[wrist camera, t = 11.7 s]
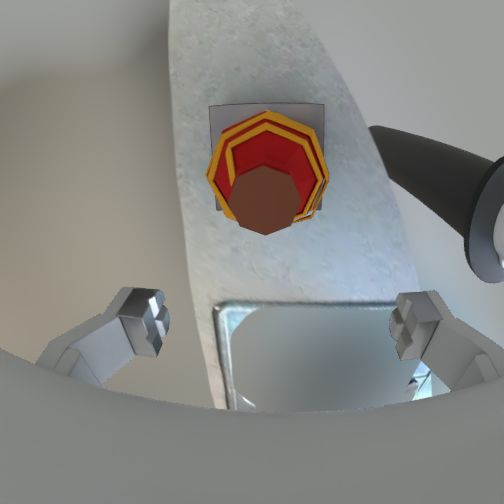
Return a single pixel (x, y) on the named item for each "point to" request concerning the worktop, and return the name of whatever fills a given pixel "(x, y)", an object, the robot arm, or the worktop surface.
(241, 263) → the worktop surface
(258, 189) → the potion bottle
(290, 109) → the shelf
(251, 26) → the worktop surface
